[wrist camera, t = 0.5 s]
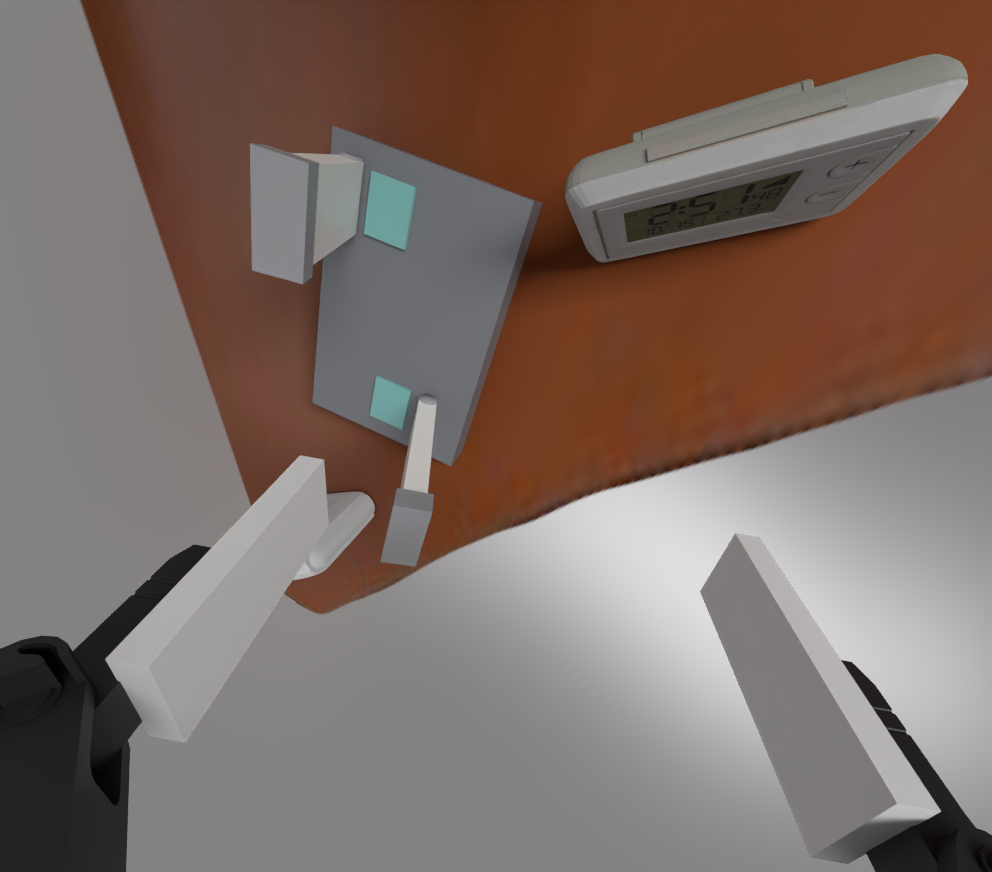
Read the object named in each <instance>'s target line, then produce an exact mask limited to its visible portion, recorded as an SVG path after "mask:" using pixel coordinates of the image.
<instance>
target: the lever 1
mask: <svg viewBox="0 0 992 872" xmlns="http://www.w3.org/2000/svg"><path fill="white" fill-rule="evenodd" d="M363 166H364V162H363V159H362V158H359V157H357V156H354V155H351V154H348V153H345V152H341V151H340V153H339V155H338V154H305V153H289V152H286V151H283V150H280V149H277V148H274V147H271V146H268V145H265V144H252V143H250V176H251V237H252V270H253V271H256V272H260V273H263V274H267V275H271V276H274V277H278V278H282V279H285V280H289V281H292V282H296V283H300V284H304V283H305V282H306V281H308V280H309V279H310V278H312V274H313V265H314V264H315V263H317V262H318V261H319V260H321V259H322V258H323V257H325V256H326V255H328V254H329V253H330V252H332V251H333V250H335V249H336V248H337V247H339V246H340V245H342V244H343V243H344V242H346V241H347V240H349V239H350V238H354V237H355V235H356V229H357V220H358V211H359V202H360V193H361V184H362V175H363Z"/></svg>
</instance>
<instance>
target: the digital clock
mask: <svg viewBox="0 0 992 872" xmlns="http://www.w3.org/2000/svg"><path fill="white" fill-rule="evenodd" d="M967 84H968V76H967V72H966V69H965V68H964V66H963V65H962V63H961V62H960V61H958V60H956V59H954V58H952V57H949V56H944V55H940V54H931V55H926V56H920V57H917V58H913V59H910V60H906V61H903V62H900V63H896V64H893V65H889V66H886V67H882V68H879V69H875V70H872V71H868V72H865V73H862V74H858V75H855V76H851V77H848V78H845V79H842V80H838V81H835V82H832V83H828V84H825V85H822V86H818V87H815V88H814V84H813V80H811V79H808V80H804V81H801V82H798V83H795V84H791V85H788V86H785V87H782V88H778V89H775V90H772V91H769V92H765V93H762V94H759V95H756V96H752V97H749V98H746V99H743V100H740V101H736V102H733V103H730V104H727V105H723V106H720V107H717V108H714V109H710V110H707V111H704V112H701V113H697V114H694V115H691V116H688V117H684V118H681V119H678V120H675V121H671V122H668V123H665V124H662V125H659V126H655V127H652V128H649V129H646V130H642V131H639V132H636V133H633V135H632V143H629V144H626V145H623V146H619V147H616V148H613V149H610V150H607V151H604V152H601V153H598V154H594V155H591V156H589V157H586V158H584V159H582V160H581V161H579V162H578V163H577V164H576V166H575V167H574V168H573V170H572V171H571V173H570V175H569V176H568V178H567V182H566V187H565V198H566V202H567V205H568V207H569V210H570V212H571V214H572V217H573V219H574V221H575V224H576V226H577V228H578V231H579V233H580V235H581V238H582V240H583V242H584V245H585V247H586V249H587V251H588V252H589V253H590V254H591V255H592V256H593V257H594V258H595V259H596V260H597V261H599V262H609V261H614V260H620V259H625V258H630V257H635V256H640V255H644V254H649V253H654V252H659V251H664V250H669V249H673V248H678V247H683V246H688V245H693V244H698V243H703V242H707V241H712V240H717V239H722V238H727V237H732V236H736V235H741V234H746V233H751V232H756V231H761V230H766V229H770V228H775V227H780V226H785V225H790V224H795V223H799V222H804V221H808V220H813V219H818V218H822V217H826V216H830V215H833V214H836V213H838V212H840V211H842V210H843V209H845V208H846V207H848V206H849V205H850V204H851V203H852V202H853V201H854V200H856V199H857V198H858V197H859V196H860V195H861V194H862V193H863V192H864V191H865V190H867V189H868V188H869V187H870V186H871V185H872V184H873V183H874V182H875V181H876V180H877V179H879V178H880V177H881V176H882V175H883V174H884V173H885V172H886V171H887V170H888V169H890V168H891V167H892V166H893V165H894V164H895V163H896V162H897V161H898V160H899V159H901V158H902V157H903V156H904V155H905V154H906V153H907V152H908V151H909V150H910V149H912V148H913V147H914V146H915V145H916V144H917V143H918V142H919V141H920V140H921V139H923V138H924V137H925V136H926V135H927V134H928V133H929V132H930V131H931V130H932V129H933V128H934V127H935V126H936V125H937V124H938V123H939V121H940V120H941V119H942V118H943V116H944V115H945V114H946V113H947V112H948V110H949V109H950V108H951V107H952V105H953V104H954V103H955V101H956V100H957V99H958V97H959V96H960V95H961V93H962V92H963V91H964V89H965V88H966V86H967Z"/></svg>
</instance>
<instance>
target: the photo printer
mask: <svg viewBox="0 0 992 872" xmlns="http://www.w3.org/2000/svg"><path fill="white" fill-rule="evenodd" d="M327 506H328V519H329V525H328V527H327V528H326V530H325V531H324V533H323V534H322V536H321V538H320V539H319V541H318V542H317V544H316V545H315V547H314V548H313V550H312V551H311V553H310V554H309V556H308V557H307V559H306V560H305V562H304V563H303V565H302V566H301V568H300V569H299V571H298V572H297V574H296V575H295V577H294V579H293V580H297V579H303V578H307V577H311V576H314V575H317V574H319V573H321V572H323V571H324V570H326V569H327V568H328V567H329V566H330V565H331V564H332V562H333V561H334V560H335V559H336V558H337V557H338V556H339V555H340V554H341V553H342V551H343V550H344V549H345V548H346V547H347V546H348V545H349V544H350V543H351V542H352V540H353V539H354V538H355V537H356V536H357V535H358V534H359V533H360V532H361V530H362V529H363V528H364V527H365V526H366V525H367V524H368V523H369V522H370V520H371V519H372V518H373V516H374V511H375V506H374V503H373V501H372V499H371V498H370V497H369V496H368V495H367V494H364V492H357V491H355V492H341V493H331V494H327Z"/></svg>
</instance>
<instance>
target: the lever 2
mask: <svg viewBox="0 0 992 872" xmlns="http://www.w3.org/2000/svg"><path fill="white" fill-rule="evenodd" d="M436 405H437V398H436V397H435V396H433V395H430V394H421V395H420V397H419V401H418V405H417V410H416V414H415V418H414V422H413V427H412V431H411V435H410V440H409V445H408V450H407V456H406V461H405V466H404V472H403V477H402V483H401V488H397V491H396V495H395V499H394V504H393V508H392V512H391V517H390V521H389V525H388V529H387V534H386V538H385V542H384V547H383V552H382V557H381V562H385V563H393V564H400V565H407V566H415V567H416V564H417V561H418V558H419V554H420V551H421V548H422V545H423V541H424V538H425V535H426V531H427V528H428V525H429V522H430V518H431V515H432V512H433V500H434V494H428V484H429V474H430V464H431V454H432V444H433V435H434V425H435V415H436Z"/></svg>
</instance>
